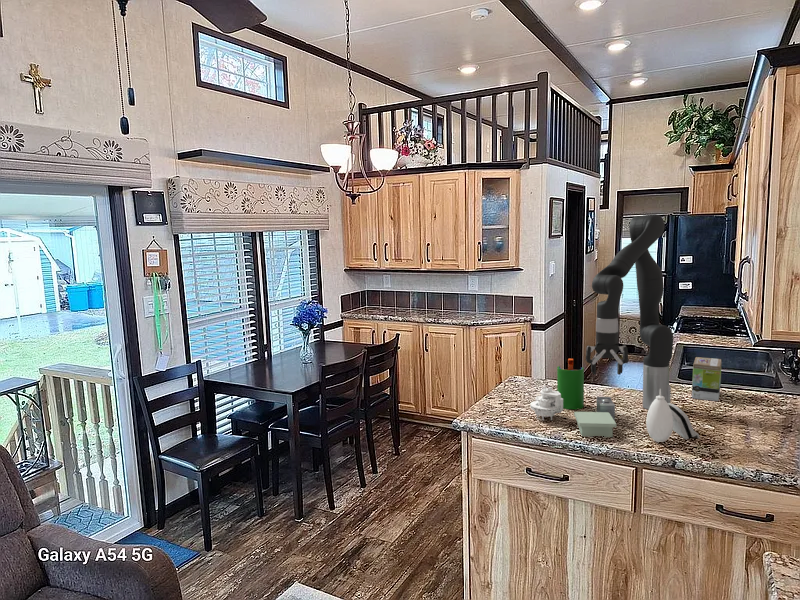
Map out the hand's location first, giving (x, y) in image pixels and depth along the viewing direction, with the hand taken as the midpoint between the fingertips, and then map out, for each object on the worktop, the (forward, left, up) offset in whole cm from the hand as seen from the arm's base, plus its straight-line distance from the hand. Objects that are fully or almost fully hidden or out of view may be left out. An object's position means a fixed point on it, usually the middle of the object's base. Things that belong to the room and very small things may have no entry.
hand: (606, 374), depth 194 cm
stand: (+6, +10, -18) cm, 21 cm away
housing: (0, -2, -18) cm, 18 cm away
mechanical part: (+21, -3, -18) cm, 28 cm away
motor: (+10, -18, -18) cm, 27 cm away
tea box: (-47, -36, -18) cm, 62 cm away
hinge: (-22, +7, -18) cm, 29 cm away
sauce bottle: (-13, +18, -18) cm, 29 cm away
